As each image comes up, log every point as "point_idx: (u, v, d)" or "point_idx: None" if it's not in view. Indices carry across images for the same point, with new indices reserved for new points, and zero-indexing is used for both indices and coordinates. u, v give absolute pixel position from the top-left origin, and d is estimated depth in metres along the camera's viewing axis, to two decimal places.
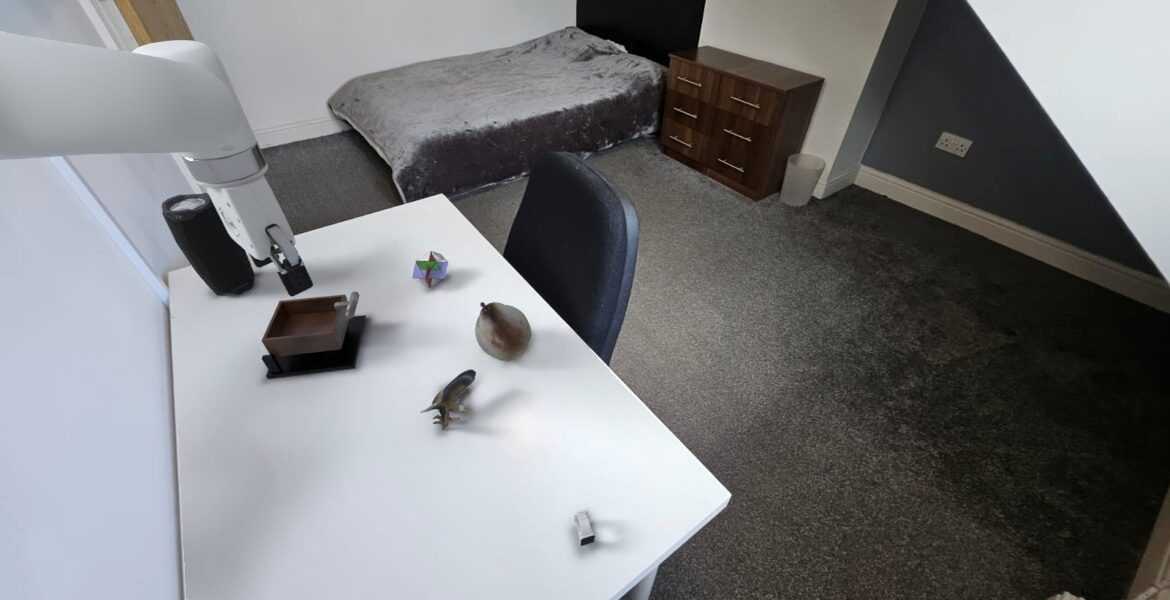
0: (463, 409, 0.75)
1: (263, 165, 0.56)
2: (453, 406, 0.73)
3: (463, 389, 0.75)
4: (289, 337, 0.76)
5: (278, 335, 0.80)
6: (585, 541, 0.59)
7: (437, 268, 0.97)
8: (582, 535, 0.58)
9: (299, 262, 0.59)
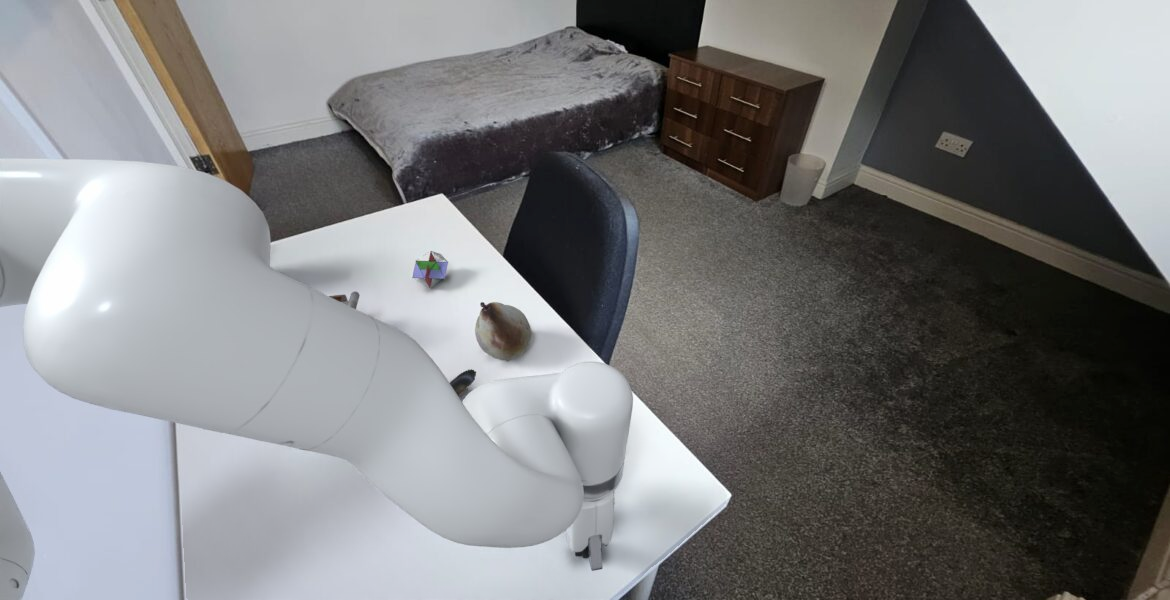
0: None
1: (618, 480, 0.48)
2: None
3: (463, 389, 0.75)
4: None
5: None
6: None
7: (436, 268, 0.97)
8: None
9: None
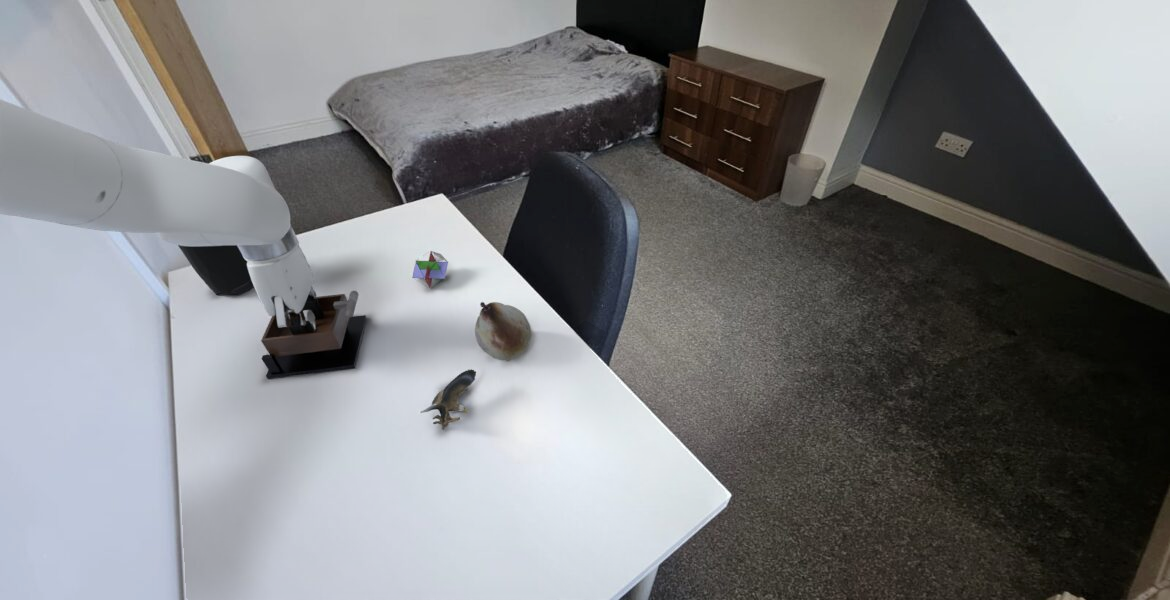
0: (463, 409, 0.75)
1: (284, 252, 0.69)
2: (453, 406, 0.73)
3: (463, 389, 0.75)
4: (288, 337, 0.76)
5: (278, 335, 0.80)
6: None
7: (436, 268, 0.97)
8: None
9: (293, 325, 0.74)
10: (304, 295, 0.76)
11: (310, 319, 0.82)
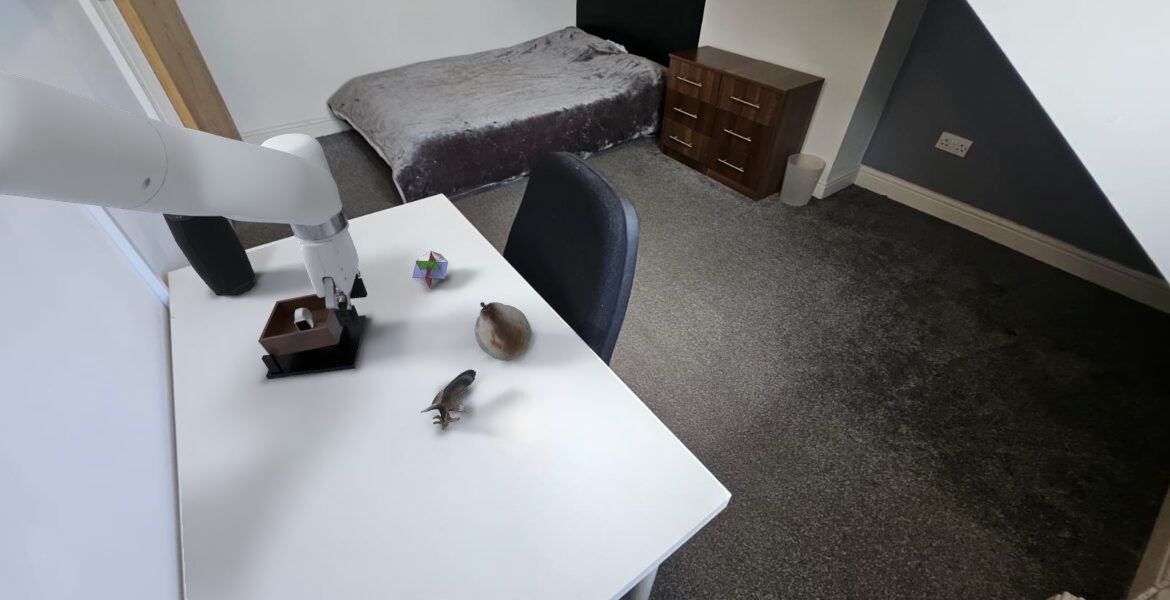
0: (463, 409, 0.75)
1: (336, 232, 0.69)
2: (453, 406, 0.73)
3: (463, 389, 0.75)
4: (284, 335, 0.76)
5: (277, 335, 0.80)
6: (300, 326, 0.79)
7: (437, 268, 0.97)
8: (295, 320, 0.78)
9: (340, 309, 0.73)
10: (352, 277, 0.75)
11: (307, 317, 0.82)
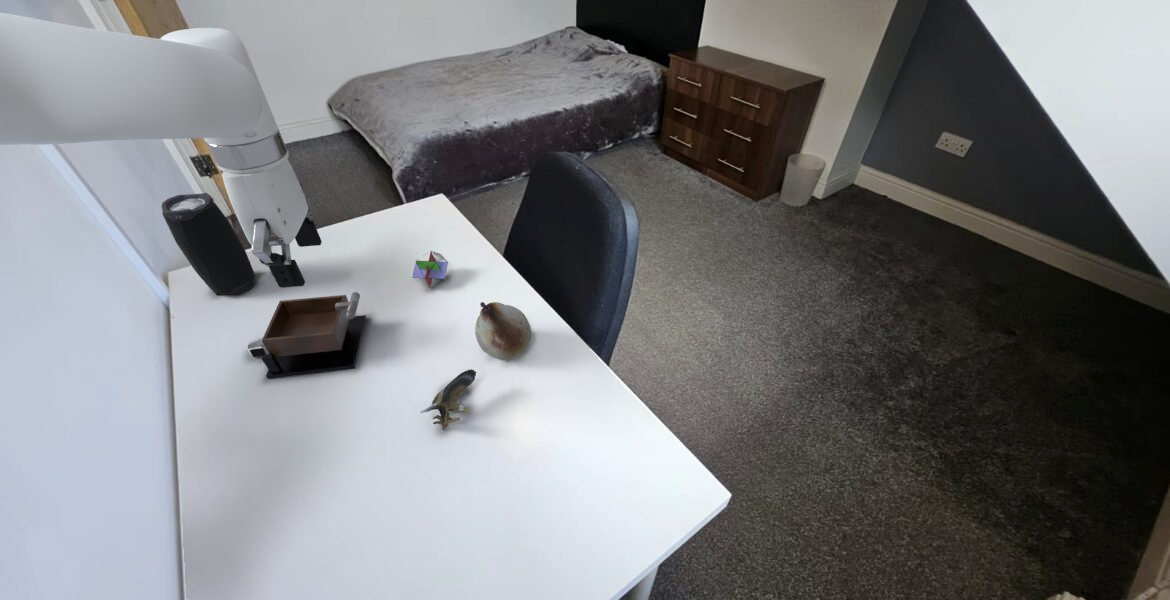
0: (463, 409, 0.75)
1: (270, 161, 0.55)
2: (453, 406, 0.73)
3: (463, 389, 0.75)
4: (289, 337, 0.77)
5: (278, 335, 0.80)
6: (258, 351, 0.82)
7: (437, 268, 0.97)
8: (265, 347, 0.82)
9: (274, 262, 0.58)
10: (296, 224, 0.61)
11: (258, 342, 0.84)
